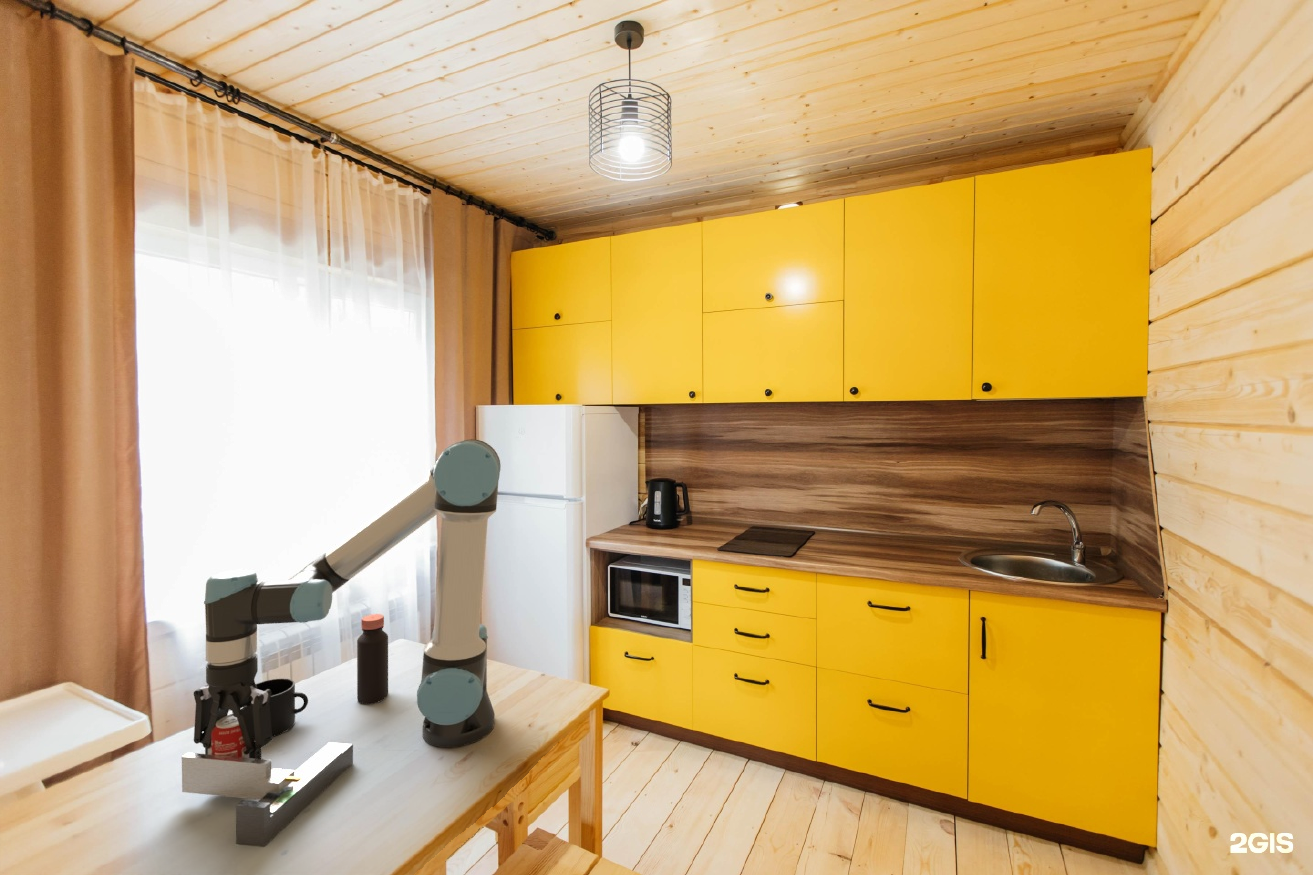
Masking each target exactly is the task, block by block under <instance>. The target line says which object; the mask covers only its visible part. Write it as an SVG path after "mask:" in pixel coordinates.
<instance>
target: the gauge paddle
mask: <svg viewBox="0 0 1313 875" xmlns="http://www.w3.org/2000/svg"><path fill="white" fill-rule="evenodd" d="M294 771H295V770H294V769H286V768H285V769H284V768H283V769H282V768H272V759H264V758H261V759H253V758H242V757H231V756H220V755H209V754H205V753H197V752H187V753H185V754H184V755H182V756H181V787H182V788H181V792H182V793H187V794H199V795H209V796H219V797H228V798H238V799H239V798H240V799H249V800H251V799H252V800H258V801H259V800H260V799H261V798H263V797H264V796H265V795H266V794H267V793H277V794H279V793H280V792H281V791H282V790H284V789H285V788H286V787H287V786H288V785H289V784H291V783H292V782H299V781H300V780H301V777H294Z"/></svg>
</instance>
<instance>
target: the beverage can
mask: <svg viewBox="0 0 1313 875" xmlns="http://www.w3.org/2000/svg"><path fill="white" fill-rule="evenodd" d="M245 750H247V749H246V746H245V742H244V739H243V736H242V732H241V729H240V726H239V723H238V720H237V717H234V716H233V713H231V714H227V716H225V717H223V718H222V719H220V720H218V721H217V722H216V726H215V728H214V729H213V730H212V733H211V751H212V755H220V756H231V757H242V752H244V751H245Z"/></svg>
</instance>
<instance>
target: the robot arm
mask: <svg viewBox="0 0 1313 875" xmlns="http://www.w3.org/2000/svg"><path fill="white" fill-rule="evenodd" d="M500 473H501V460H500V457H499V455H498V452H496V449H495V448H493V447H492V446H491V444H489V443H487V442H486V441H485V442H484V441H482V440H480V439H472V438H471V439H465V440H462V441H458V442H454V443H452V444H451V445H449V446H448V447H446V448H445V449H444V450H443V451H442V452H441V453H440V454H439V456H437V459H436V462H435V464H434V466H433V467H432V468H430V469H429V470H428V472H427V477H426V478H424V479H423V480H422V481H421V482H419V483H418V484H416V485H415V486H414V487H413V488H411V489H409V490H408V491H407V492H405V494H403V495H401V496H400V497H399V498H398V499H396V500H395V501H394V502H392V503H391V504H388V505H387V507H385V508H384V509H382V510H381V511H380V512H379V513H377V514H376V515H374V516H373V517H371V518H370V519H369V520H367V522H365V523H364V524H362V525H361V526H360V527H358V528H357V529H356V530H354V531H353V532H351V533H350V534H348V535H347V536H346V537H344V538H343V539H342V540H340V541H339V542H338V543H337V544H335V545H334V546H333V547H331V548H329V550H327V551H326V552H325V553H323V554H322V555H320V556H319V557H317V558H316V559H315V560H313V561H312V562H310V563H309V564H307V565H306V566H305V567H304V568H303V569H302V570H300V571H299V572H298V573H296V574H294V575H293V576H291V577H290V578H289V579H288V580H282V581H281V580H280V581H279V580H278V581H259V580H258V579H259V578H258V576H257V573H256V572H255V571H254V570H250V569H249V570H248V569H235V570H234V569H233V570H227V571H222V572H219V573H216V574H214V575H212V576H210V577H209V578H208V579H207V581H206V583H205V596H204V602H203V603H204V604H203V605H204V608H205V609H204V612H205V613H204V614H205V615H204V616H205V661H206V662H207V663H206V664H205V682H206V685H204V686H201V687H200V688H198V689H196V690H194V691H193V697H194V701H195V711H194V712H195V713H194V715H195V716H194V731H193V742H194V744H198V745H199V743H200V744H201V745H202V747H203V748H204V752H205V753H204V754H209V755H212V751H211V733H212V730H213V729H214V728H215V726H216V722H217V721H218V720H220V719H222V718H223V717H225V716H227V715H229V711H231V714H233V716H234V717H237V720H238V723H239V726H240V729H241V732H242V736H243V739H244V742H245V746H246V749H247V750H245V751H244V752H242V758H253V759H262V748H264V747H265V746H267V745H268V744H270V743H271V742H272V741H273V737H272V729H271V717H270V705H269V701H270V697H271V690H270V689H267V690H265V691H262V690H259V689H257V686H256V684H257V683H256V682H255V678H256V676H257V674H258V659H259V658H258V654H257V651H258V625H270V624H287V623H289V624H290V623H291V624H292V623H303V624H304V623H305V624H306V623H308V622H315V621H321V620H324V619H325V618H326V617H327V616H328V614H329V611H330V609H331V606H332V603H333V602H332V601H333V593H334V592H336V591H337V590H338V589H340V588H341V587H343V586H344V585H345V584H346V583H348V582H349V581H350V580H351V579H353V578H354V577H355V576H356V575H358V574H359V573H360V572H362V571H363V570H364V569H366V568H368V567H369V566H370V565H371V564H372V563H374V562H375V561H377V560H378V559H379V558H381V557H382V556H384V554H386V553H387V552H389V551H390V550H392V548H394V547H395V546H397V545H398V544H399V543H401V542H402V541H403V540H405V539H406V538H408V536H410V535H411V534H413V533H414V532H415V531H417V530H418V529H420V528H421V527H422V526H423V525H425V524H427V522H429V521H430V520H431V519H432V518H435V517H436V516H437V515H439V516H440V518H441V524H440V525H441V526H440V527H441V528H440V539H439V551H438V552H439V553H438V554H439V555H438V566H437V580H436V581H437V582H436V593H435V606H434V607H435V608H434V621H433V631H432V633H431V638H430V640H429V641H428V642H427V643H425V645H424V647H423V655H422V669H421V671H422V672H421V680H420V684H419V685H418V689H417V691H416V702H417V703H416V704H417V707H418V711H419V712H420V713H421V715H422V716H423V717H424V719H423V721H422V739H424V741H425V743H427V744H429V745H431V746H435V747H439V748H457V747H462V746H463V747H464V746H468V745H471V744H473V743H474V744H475V743H476V742H478V741H480V740H482V739H484V738H485V737H487V735H490V733H491V732H492V731H493V729H494V727H495V725H496V724H495V720H496V719H495V710H494V707H493V705H492V701H491V699H490V695H489V693H488V689H487V687H488V686H487V685H488V684H487V683H488V681H487V680H488V679H487V677H488V676H487V675H488V673H487V667H488V664H487V663H488V660H487V658H488V651H487V650H488V639H489V636H488V632H487V627H486V626H485V625H484V624H483V623H481V611H482V602H483V601H482V599H483V584H484V573H485V572H484V571H485V562H486V561H485V559H486V548H487V546H486V545H487V535H488V534H487V532H488V519H489V518H490V517H491V516H493V515H494V514H495V513H496V512H497V504H498V492H499V491H498V490H499V481H500V480H499V479H500ZM245 705H246V706H245ZM244 706H245V707H244ZM243 707H244V708H243Z"/></svg>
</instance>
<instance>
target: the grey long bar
mask: <svg viewBox="0 0 1313 875" xmlns="http://www.w3.org/2000/svg"><path fill="white" fill-rule="evenodd" d="M353 764H354V744H353V743H347V742H346V743H344V742H335V741H334V742H333V741H332V742H331V741H329V742H328V743H327V744H325V745H324V746H323V747H322V748H321V749H319V750H318V751H317V752H316V753H315V754H313V755H312V756H311V757H309V758H308V759H307V760H306V761H304V762H303V763H302V764H301V765H299V767H298V768H297V769H295V770H294V777H301V780H300V781H299V782H292V783H291V784H289V785H288V786H287V787H286V788H285V789H284V790H282V791H281V792H280V793H279V794H277V793H267V794H266V795H265V796H264V797H263V798H261V799H260V800H258V801H254V800H245V799H244V800H243V799H242V800H239V802H238V803H236V804H235V841H236V842H235V844H236V845H245V846H252V847H253V846H254V847H262V848H265V847H266V846H267V845H268V844H269V843H270V842H271V841H272V840H273V839H275V838H276V837H277V836H278V835H279V834H280V833H282V831H283V830H284V829H285V828H286V827H287V826H288V825H290V823H292V821H294V820H295V819H296V818H297V817H298V816H299V815H300V814H301V813H303V812H304V810H306V808H308V807H309V806H310V805H311V804H312V803H313V802H314V801H315V800H316V799H317V798H318V797H319V796H320V795H321V794H322V793H323V792H325V791H326V790H327V789H328V788H329V787H331V785H332V784H333V783H335V781H336V780H337V779H338V778H339V777H341V776H342V775H343V774H344V773H345V771H347V770H348V769H349V768H350V767H351V766H352V765H353Z"/></svg>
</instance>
